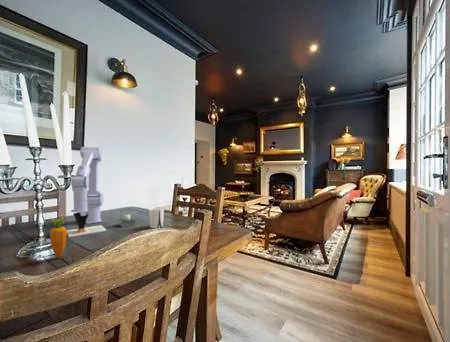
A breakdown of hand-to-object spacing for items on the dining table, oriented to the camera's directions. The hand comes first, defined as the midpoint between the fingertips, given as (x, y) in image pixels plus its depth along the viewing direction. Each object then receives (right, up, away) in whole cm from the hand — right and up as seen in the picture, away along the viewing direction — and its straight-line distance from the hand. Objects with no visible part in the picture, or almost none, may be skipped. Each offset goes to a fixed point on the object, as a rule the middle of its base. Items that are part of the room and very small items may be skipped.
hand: (80, 227), depth 113 cm
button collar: (+16, -2, +15) cm, 22 cm away
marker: (0, -2, 0) cm, 2 cm away
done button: (+16, -1, +15) cm, 22 cm away
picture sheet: (+1, -3, +3) cm, 4 cm away
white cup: (+34, -3, +12) cm, 36 cm away
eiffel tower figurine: (+39, -4, 0) cm, 39 cm away
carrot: (+11, -4, -30) cm, 32 cm away
